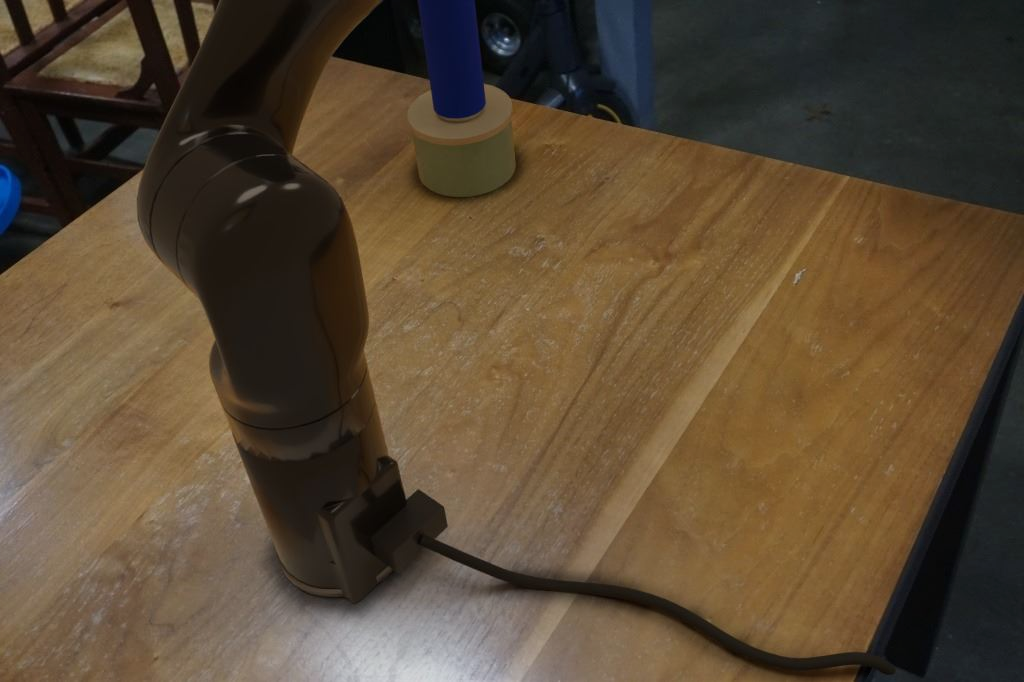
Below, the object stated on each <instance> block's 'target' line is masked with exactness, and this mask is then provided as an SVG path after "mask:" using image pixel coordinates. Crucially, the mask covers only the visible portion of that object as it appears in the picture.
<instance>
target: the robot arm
mask: <svg viewBox="0 0 1024 682" xmlns="http://www.w3.org/2000/svg"><path fill="white" fill-rule="evenodd" d="M384 1H385V0H219V1H218V3H217V6H216V8H215V11H214V14H213V16H212V19H211V21H210V24H209V26H208V28H207V31H206V32H205V35H204V37H203V40H202V42H201V43H200V47H199V48H198V51H197V53H196V55H195V57H194V59H193V61H192V63H191V65H190V67H189V69H188V72H187V74H186V76H185V78H184V80H183V82H182V84H181V86H180V88H179V90H178V91H177V94H176V97H175V98H174V100H173V103H172V105H171V107H170V109H169V111H168V113H167V115H166V117H165V119H164V122H163V124H162V125H161V128H160V130H159V132H158V134H157V136H156V139H155V141H154V143H153V145H152V147H151V149H150V152H149V155H148V157H147V160H146V162H145V165H144V167H143V170H142V173H141V177H140V179H139V184H138V190H137V197H136V216H137V223H138V226H139V230H140V232H141V234H142V237H143V239H144V241H145V243H146V245H147V246H148V247H149V249H150V251H151V252H152V253H153V254H154V256H155V257H156V258H157V259H158V261H160V262H161V264H162V265H164V266H165V268H167V269H168V270H169V271H170V272H171V274H173V275H174V276H175V277H176V278H177V279H178V280H179V282H180V283H182V284H183V285H184V286H185V287H186V288H187V289H188V290H189V291H190V292H191V293H192V294H193V295H194V296H195V297H196V298H197V299H198V300H199V302H200V304H201V306H202V308H203V310H204V313H205V315H206V317H207V320H208V323H209V325H210V328H211V331H212V334H213V337H214V339H215V340H214V342H213V344H212V345H211V349H210V352H209V357H208V369H209V374H210V378H211V381H212V385H213V387H214V391H215V392H216V395H217V397H218V400H219V403H220V406H221V408H222V411H223V413H224V417H225V418H226V421H227V424H228V427H229V429H230V432H231V435H232V438H233V440H234V444H235V446H236V448H237V451H238V453H239V457H240V459H241V461H242V464H243V467H244V470H245V472H246V475H247V477H248V480H249V483H250V485H251V488H252V491H253V493H254V496H255V498H256V501H257V504H258V507H259V510H260V512H261V515H262V517H263V520H264V522H265V525H266V528H267V530H268V533H269V536H270V538H271V540H272V543H273V545H274V547H275V550H276V552H275V553H276V556H277V560H278V563H279V565H280V568H281V570H282V572H283V574H284V575H285V577H286V578H287V579H288V581H290V583H291V584H293V585H294V586H295V587H297V588H298V589H300V590H301V591H303V592H305V593H308V594H311V595H315V596H319V597H327V598H336V597H337V598H340V597H344V598H345V599H347V600H349V601H350V602H351V603H354V604H356V603H359V602H360V601H361V600H363V598H364V597H365V596H366V595H367V594H369V593H370V592H371V591H372V590H373V589H374V588H375V587H376V586H377V585H378V584H379V583H380V582H382V581H383V580H385V579H386V578H387V577H388V576H389V575H390V574H391V573H392V572H393V571H394V572H395V573H397V574H399V573H400V572H401V571H402V570H403V569H405V568H406V567H407V565H409V564H410V563H411V562H412V561H413V560H414V559H415V558H416V557H417V556H418V555H420V554H421V553H422V552H423V551H424V550H425V549H426V550H429V551H432V552H434V553H436V554H438V555H440V556H443V557H445V558H447V559H449V560H451V561H453V562H456V563H458V564H461V565H463V566H465V567H468V568H470V569H472V570H475V571H478V572H480V573H483V574H484V575H487V576H490V577H492V578H494V579H496V580H500V581H502V582H506V583H509V584H512V585H517V586H521V587H525V588H530V589H536V590H544V591H550V592H558V593H559V592H560V593H571V594H580V595H581V594H582V595H592V596H593V595H594V596H602V597H608V598H609V597H610V598H616V599H620V600H621V599H622V600H627V601H630V602H636V603H639V604H643V605H647V606H649V607H652V608H655V609H658V610H660V611H663V612H665V613H667V614H670V615H672V616H673V617H676V618H677V619H679V620H681V621H683V622H685V623H686V624H688V625H690V626H692V627H693V628H695V629H696V630H698V631H699V632H701V633H703V634H704V635H706V636H708V637H709V638H711V639H712V640H713V641H716V642H717V643H719V644H720V645H722V646H724V647H725V648H727V649H729V650H731V651H733V652H735V653H737V654H739V655H741V656H743V657H745V658H747V659H749V660H752V661H754V662H757V663H760V664H763V665H766V666H769V667H772V668H775V669H781V670H787V671H797V672H798V671H799V672H802V671H803V672H804V671H805V672H806V671H818V670H824V669H831V668H838V667H844V666H865V667H869V668H872V669H875V670H877V671H878V672H880V673H882V674H883V675H887V676H893V675H894V674H896V672H897V668H896V667H895V665H893V664H892V663H891V662H889V660H887V659H885V658H883V657H881V656H880V655H879V656H878V655H876V654H873V653H869V652H861V651H849V652H838V653H831V654H826V655H819V656H813V657H812V656H811V657H789V656H783V655H780V654H775V653H773V652H769V651H765V650H762V649H760V648H758V647H754V646H752V645H750V644H748V643H746V642H743V641H742V640H740V639H738V638H737V637H734V636H732V635H731V634H729V633H728V632H725V631H724V630H722V629H721V628H719V627H718V626H716V625H714V624H712V623H711V622H710V621H708V620H706V619H705V618H703V617H702V616H700V615H699V614H697V613H695V612H693V611H691V610H689V609H688V608H686V607H684V606H682V605H679V604H677V602H673V601H671V600H668V599H666V598H664V597H661V596H658V595H656V594H654V593H653V594H652V593H650V592H645V591H642V590H638V589H634V588H631V587H626V586H619V585H612V584H605V583H597V582H586V581H574V580H573V581H572V580H562V579H561V580H560V579H551V578H544V577H539V576H532V575H528V574H523V573H519V572H515V571H512V570H509V569H506V568H504V567H500V566H499V565H496V564H494V563H491V562H489V561H486V560H484V559H481V558H479V557H477V556H474V555H472V554H470V553H467V552H465V551H462V550H460V549H458V548H457V547H456V548H455V547H453V546H452V545H449V544H446V543H444V542H442V541H440V540H438V539H437V538H438V537H439V536H440V535H441V534H442V533H443V532H445V530H446V529H447V528H448V527H449V525H448V520H447V514H446V510H445V506H444V505H443V504H442V503H440V502H438V501H437V500H436V499H434V498H432V497H431V496H429V495H428V494H427V493H425V492H424V491H422V490H421V489H419V488H417V490H415V491H414V492H413V493H411V494H410V496H408V497H406V493H405V487H404V484H403V479H402V476H401V471H400V466H399V463H398V461H397V460H395V459H394V458H393V457H392V456H390V453H389V450H388V449H389V448H388V446H387V441H386V437H385V433H384V428H383V423H382V421H381V420H382V419H381V416H380V412H379V408H378V404H377V398H376V395H375V390H374V386H373V382H372V376H371V373H370V369H369V364H368V359H367V356H366V351H365V348H366V343H367V340H368V336H369V329H370V313H369V306H368V300H367V293H366V288H365V282H364V276H363V270H362V264H361V257H360V253H359V247H358V243H357V238H356V234H355V229H354V225H353V222H352V219H351V216H350V214H349V210H348V209H347V207H346V205H345V202H344V200H343V199H342V197H341V196H340V193H338V191H337V190H336V188H335V187H334V186H333V185H332V184H331V183H330V182H329V181H328V180H326V179H325V178H324V177H322V176H321V175H320V174H319V173H317V172H316V171H315V170H313V169H312V168H310V166H308V165H307V164H305V163H304V162H303V161H301V160H300V159H299V158H297V157H296V156H294V154H293V153H294V149H295V145H296V142H297V138H298V135H299V132H300V129H301V126H302V122H303V120H304V117H305V114H306V112H307V110H308V107H309V105H310V102H311V100H312V98H313V95H314V92H315V89H316V87H317V85H318V82H319V80H320V79H321V76H322V75H323V72H324V70H325V68H326V66H327V65H328V63H329V62H330V59H331V58H332V56H333V55H334V54H335V52H336V51H337V50H338V48H339V47H340V46H341V44H342V43H343V42H344V40H346V38H347V37H348V36H349V35H350V34H351V33H352V32H353V31H354V30H355V29H356V27H358V26H359V24H361V22H363V20H365V19H366V18H367V17H368V16H369V15H370V14H371V13H372V12H373V11H374V10H375V9H377V7H379V6H380V5H381V4H382V3H383V2H384Z"/></svg>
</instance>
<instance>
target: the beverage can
mask: <svg viewBox="0 0 1024 682" xmlns="http://www.w3.org/2000/svg"><path fill="white" fill-rule="evenodd" d="M417 5H418V13H419V17H420V19H419V20H420V25H421V26H420V27H421V33H422V39H423V40H422V41H423V46H424V53H425V60H426V66H427V72H428V79H429V87H430V90H431V94H432V101H433V108H434V111H435V112H436V113H437V114H438V115H439V116H440V117H441V118H443V119H444V120H447V121H451V122H463V121H468V120H471V119H473V118H475V117H476V116H478V115H479V114H480V113H481V112H482V110H483V109H484V107H485V105H486V99H485V90H484V84H485V83H484V74H483V73H484V72H483V64H482V54H481V46H480V44H481V43H480V36H479V26H478V17H477V9H476V8H477V7H476V1H475V0H417Z"/></svg>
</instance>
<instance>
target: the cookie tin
mask: <svg viewBox="0 0 1024 682" xmlns="http://www.w3.org/2000/svg"><path fill="white" fill-rule="evenodd" d="M484 90H485V99H486V105H485V107H484V109H483V110H482V112H481V113H480V114H479V115H478V116H476V117H475V118H473V119H471V120H468V121H463V122H451V121H447V120H444V119H443V118H441V117H440V116H439V115H438V114H437V113H436V112H435V111H434V108H433V101H432V94H431V89H429V90H427V91H426V92H424V93H422V94H421V95H419V96H418V97H417V98H415V99H414V101H413V102H411V104H410V106H409V107H408V110H407V113H406V114H407V115H406V116H407V124H408V127H409V129H410V131H411V136H412V141H413V147H414V153H415V160H416V164H417V165H416V166H417V171H418V177H419V180H420V182H421V183H422V185H423V186H424V187H425V188H427V189H428V190H429V191H431V192H433V193H435V194H437V195H441V196H445V197H451V198H470V197H471V198H472V197H477V196H480V195H484V194H488V193H490V192H493V191H496V190H497V189H499V188H501V187H502V186H504V185H505V184H506V183H508V182H509V180H510V179H511V178H512V177H513V175H514V173H515V171H516V168H517V167H516V165H517V164H516V163H517V162H516V153H515V151H516V150H515V142H514V141H515V139H514V131H513V120H512V119H513V115H514V108H513V102H512V99H511V97H510V96H509V95H508V93H506V91H504V90H502V89H500V88H499V87H497V86H494V85H491V84H486V83H484Z"/></svg>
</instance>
